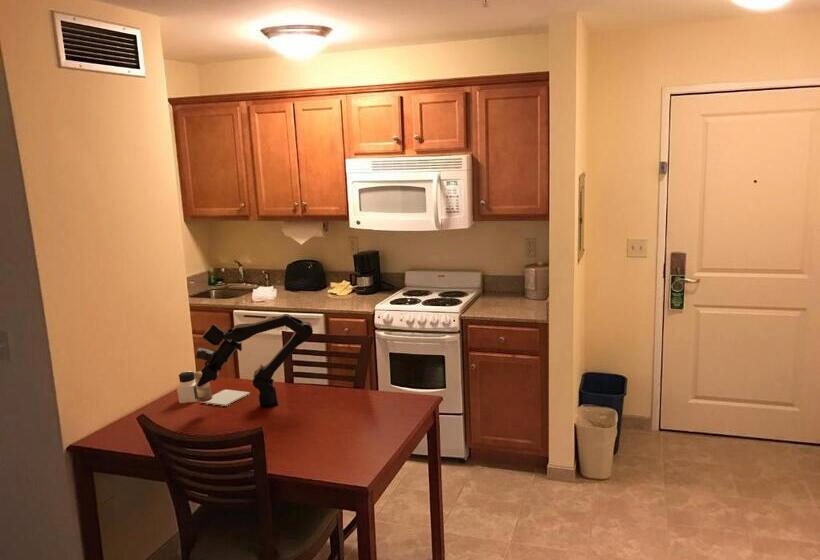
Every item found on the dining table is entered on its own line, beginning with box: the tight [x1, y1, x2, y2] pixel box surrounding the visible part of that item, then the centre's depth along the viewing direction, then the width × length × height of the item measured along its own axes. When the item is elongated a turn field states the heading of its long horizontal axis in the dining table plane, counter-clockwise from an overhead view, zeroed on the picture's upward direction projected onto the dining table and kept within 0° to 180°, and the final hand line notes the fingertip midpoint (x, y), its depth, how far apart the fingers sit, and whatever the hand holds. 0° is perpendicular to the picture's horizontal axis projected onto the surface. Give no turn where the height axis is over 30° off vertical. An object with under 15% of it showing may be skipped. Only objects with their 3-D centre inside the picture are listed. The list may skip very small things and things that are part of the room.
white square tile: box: [200, 388, 251, 407], centre depth 275 cm, size 14×14×1 cm
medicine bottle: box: [176, 370, 198, 404], centre depth 278 cm, size 7×7×12 cm
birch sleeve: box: [194, 370, 213, 403], centre depth 258 cm, size 5×5×11 cm
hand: (199, 383), depth 258 cm, fingers closed on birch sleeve, 5 cm apart
